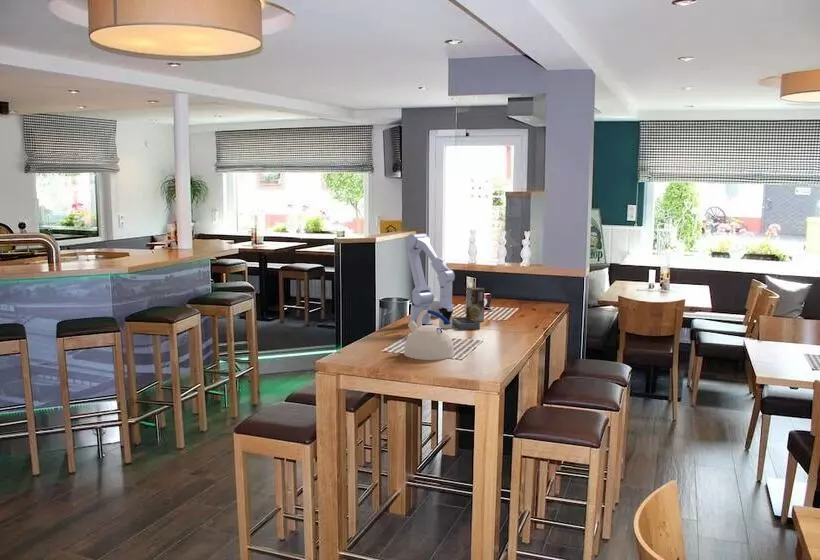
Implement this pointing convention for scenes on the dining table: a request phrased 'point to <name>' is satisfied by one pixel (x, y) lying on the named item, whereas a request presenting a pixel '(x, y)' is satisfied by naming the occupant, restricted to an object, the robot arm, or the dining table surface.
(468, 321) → the rack
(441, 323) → the panel
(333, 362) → the dining table surface
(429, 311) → the kettle
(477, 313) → the coffee box
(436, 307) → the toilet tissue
